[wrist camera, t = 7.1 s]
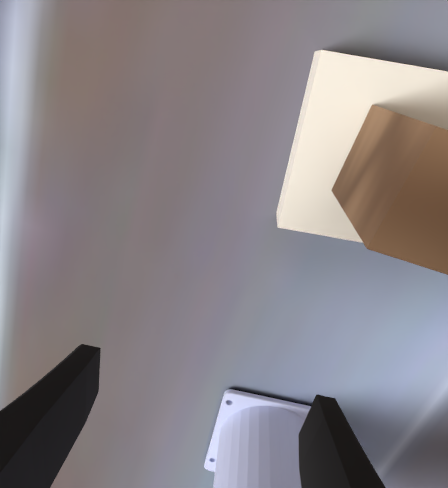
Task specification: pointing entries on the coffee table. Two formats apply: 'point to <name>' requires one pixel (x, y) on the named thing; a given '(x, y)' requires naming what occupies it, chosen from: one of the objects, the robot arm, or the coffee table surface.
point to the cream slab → (347, 130)
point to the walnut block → (398, 188)
